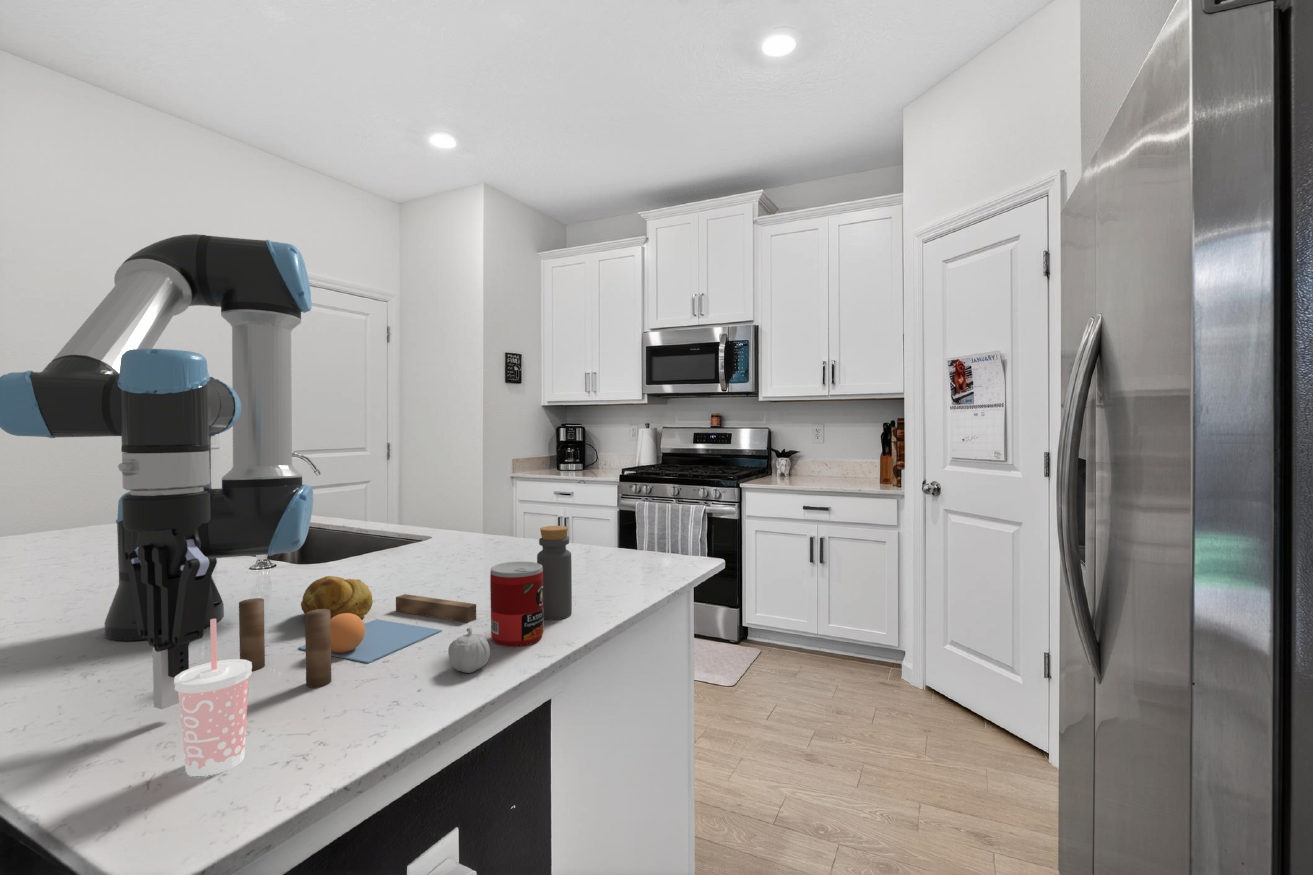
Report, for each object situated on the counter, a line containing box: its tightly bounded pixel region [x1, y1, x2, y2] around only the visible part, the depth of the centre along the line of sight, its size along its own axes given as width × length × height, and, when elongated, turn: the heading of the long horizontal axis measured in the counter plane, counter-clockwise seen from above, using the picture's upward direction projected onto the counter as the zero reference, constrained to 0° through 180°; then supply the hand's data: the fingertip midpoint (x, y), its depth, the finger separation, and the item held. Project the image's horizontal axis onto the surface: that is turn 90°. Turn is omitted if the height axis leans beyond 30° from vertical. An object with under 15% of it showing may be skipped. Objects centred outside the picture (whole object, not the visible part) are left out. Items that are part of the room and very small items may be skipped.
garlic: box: [447, 627, 491, 674], centre depth 80 cm, size 6×5×5 cm
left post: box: [238, 597, 266, 672], centre depth 81 cm, size 3×3×9 cm
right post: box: [304, 609, 332, 689], centre depth 76 cm, size 3×3×9 cm
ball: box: [331, 613, 365, 653], centre depth 87 cm, size 6×6×6 cm
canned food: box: [489, 561, 544, 648], centre depth 92 cm, size 8×8×11 cm
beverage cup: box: [174, 619, 253, 777], centre depth 58 cm, size 6×6×14 cm
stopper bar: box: [395, 593, 477, 623], centre depth 103 cm, size 16×2×2 cm, turn 67°
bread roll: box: [300, 575, 374, 619], centre depth 103 cm, size 13×10×8 cm
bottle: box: [536, 525, 573, 621], centre depth 103 cm, size 6×6×15 cm
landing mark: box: [298, 618, 443, 664], centre depth 92 cm, size 14×14×1 cm
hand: (171, 702), depth 67 cm, fingers closed
